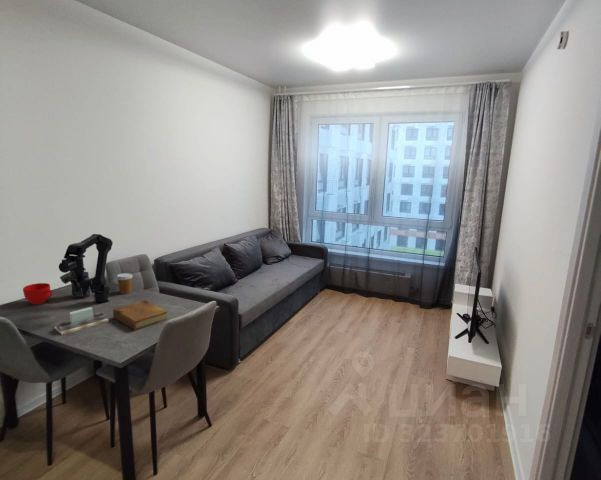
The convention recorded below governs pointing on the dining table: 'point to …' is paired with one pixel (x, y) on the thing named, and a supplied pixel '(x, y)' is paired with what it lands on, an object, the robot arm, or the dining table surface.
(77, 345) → the dining table surface
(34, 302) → the ceramic cup
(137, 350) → the dining table surface
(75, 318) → the pale green rectangular box
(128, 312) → the diary
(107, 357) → the dining table surface
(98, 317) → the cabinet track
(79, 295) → the storage jar
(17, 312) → the dining table surface
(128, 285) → the disposable coffee cup
